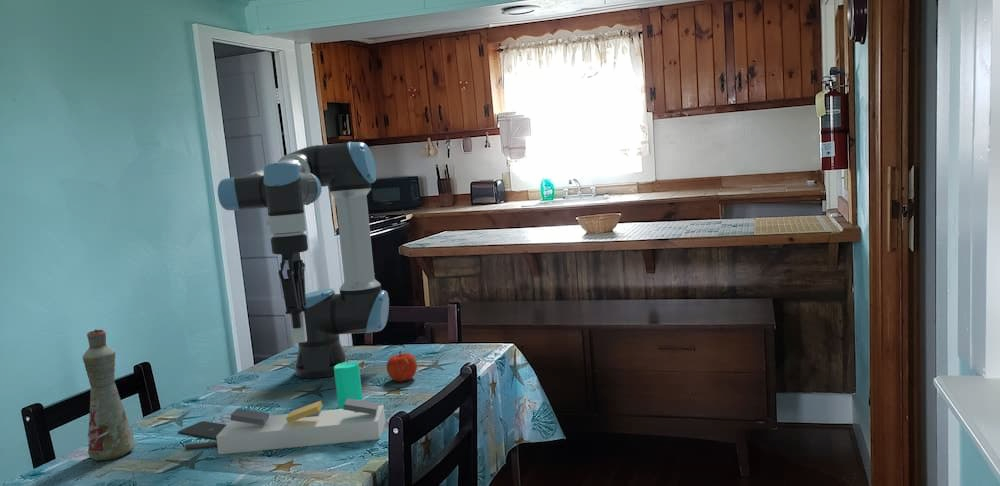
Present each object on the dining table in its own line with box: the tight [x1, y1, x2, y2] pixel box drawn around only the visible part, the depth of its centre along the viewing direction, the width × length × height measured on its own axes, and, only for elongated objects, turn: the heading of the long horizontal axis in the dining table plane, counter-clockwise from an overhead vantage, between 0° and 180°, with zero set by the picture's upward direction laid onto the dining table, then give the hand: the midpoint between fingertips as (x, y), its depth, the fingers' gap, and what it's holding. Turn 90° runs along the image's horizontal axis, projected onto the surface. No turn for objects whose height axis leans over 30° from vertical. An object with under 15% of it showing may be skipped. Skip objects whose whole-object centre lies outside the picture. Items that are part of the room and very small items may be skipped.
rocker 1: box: [230, 408, 270, 425], centre depth 154 cm, size 4×7×1 cm, turn 92°
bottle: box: [82, 328, 136, 461], centre depth 154 cm, size 9×9×28 cm
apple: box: [386, 350, 418, 383], centre depth 192 cm, size 8×8×8 cm
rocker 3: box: [343, 398, 380, 415], centre depth 155 cm, size 4×7×1 cm, turn 92°
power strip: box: [184, 404, 386, 455], centre depth 156 cm, size 10×43×4 cm, turn 92°
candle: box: [334, 359, 364, 409], centre depth 174 cm, size 6×6×12 cm
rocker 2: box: [286, 400, 324, 423], centre depth 154 cm, size 4×7×1 cm, turn 92°
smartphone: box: [177, 420, 227, 441], centre depth 165 cm, size 7×1×15 cm
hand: (300, 341), depth 156 cm, fingers closed
